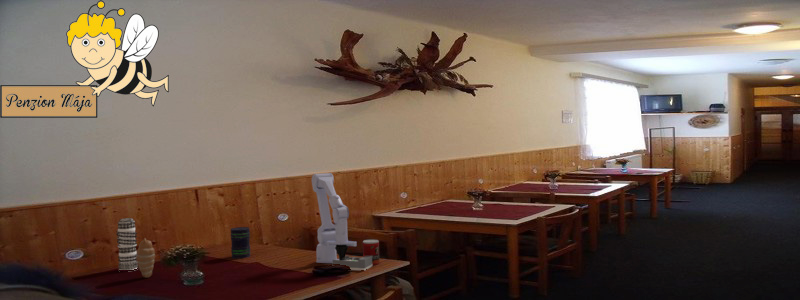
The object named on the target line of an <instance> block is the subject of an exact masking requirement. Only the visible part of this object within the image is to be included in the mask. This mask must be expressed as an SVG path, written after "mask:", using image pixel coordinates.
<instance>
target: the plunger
mask: <svg viewBox="0 0 800 300" xmlns="http://www.w3.org/2000/svg"><path fill="white" fill-rule="evenodd" d="M349 257H351V258H349ZM352 257H353V256H350V255H345V257H343V258H342V260H356V258H352Z"/></svg>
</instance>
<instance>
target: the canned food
mask: <svg viewBox="0 0 800 300" xmlns="http://www.w3.org/2000/svg"><path fill="white" fill-rule="evenodd" d="M366 255H367V256H372V264H373V266H377V265H379V264H380V241H379V240H378V239H364V240H363V241H362V257H364V256H366Z"/></svg>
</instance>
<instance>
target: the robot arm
mask: <svg viewBox="0 0 800 300" xmlns="http://www.w3.org/2000/svg"><path fill="white" fill-rule="evenodd" d="M334 177H335V176H334V175H333V174H332V172H326V173H325V172H324V173H313V174H312V176H311V186H312V191H313V192H315V193H316V199H317V205H318V211H319V215H320V221H321V225H320V226H319V227H318V229H317V241H318V244H317V245H316V261H315V263H321V264H333V262H332V260H339V258H340V260H342V258H343V257H345V256H346V255H347V251H348V249H349V247H357V241H352V240H349V239H348V219H349V216H350V211H349V210H350V209H349V207H348V206H346V205H345V204H344V203H343V201H342V199H341V197H340V195H338V194H337V192H336V190H335V189H336V188H335V187H334V181H335V180H334V179H335V178H334ZM330 207H331V209H332V216H331V211H330ZM331 217H332V218H333V223H332V218H331ZM337 255H338V257H337Z"/></svg>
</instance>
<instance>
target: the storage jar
mask: <svg viewBox="0 0 800 300" xmlns="http://www.w3.org/2000/svg"><path fill="white" fill-rule="evenodd" d="M250 239H251V232H250V227H248V226H241V227H239V226H238V227H232V228H230V240H231V241H230V242H231V247H230V249H231V251H230V253H231V258H232V259H236V258H237V259H246V258H250V257H251V244H250Z"/></svg>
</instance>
